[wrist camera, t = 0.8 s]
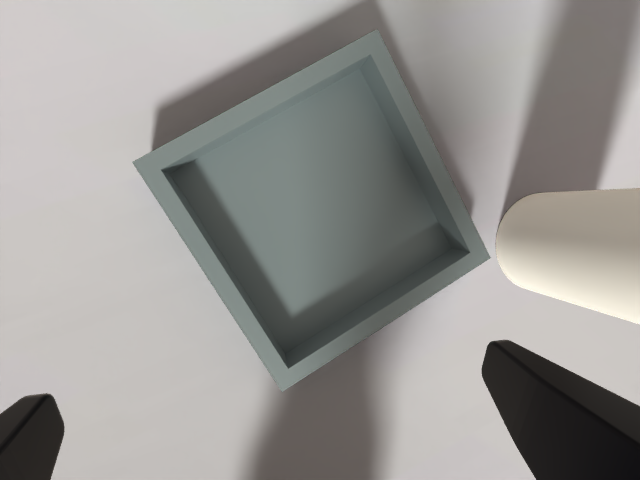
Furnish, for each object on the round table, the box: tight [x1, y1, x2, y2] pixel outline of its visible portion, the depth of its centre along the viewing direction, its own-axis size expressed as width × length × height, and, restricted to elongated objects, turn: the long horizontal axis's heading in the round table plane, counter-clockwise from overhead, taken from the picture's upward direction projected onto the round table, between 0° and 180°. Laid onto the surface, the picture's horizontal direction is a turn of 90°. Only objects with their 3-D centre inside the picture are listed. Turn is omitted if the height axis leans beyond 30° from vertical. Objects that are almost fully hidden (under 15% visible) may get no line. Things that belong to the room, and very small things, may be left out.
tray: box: [132, 29, 490, 392], centre depth 22 cm, size 15×15×3 cm
